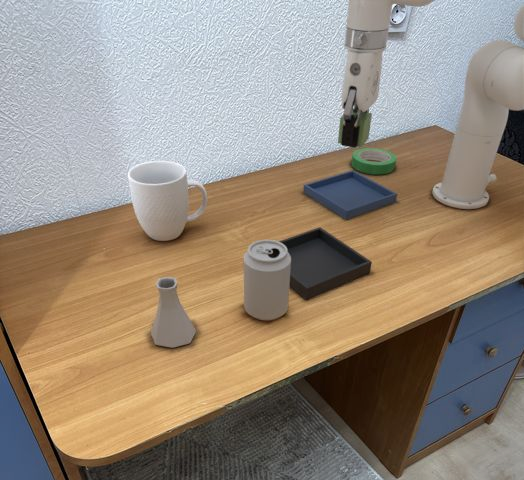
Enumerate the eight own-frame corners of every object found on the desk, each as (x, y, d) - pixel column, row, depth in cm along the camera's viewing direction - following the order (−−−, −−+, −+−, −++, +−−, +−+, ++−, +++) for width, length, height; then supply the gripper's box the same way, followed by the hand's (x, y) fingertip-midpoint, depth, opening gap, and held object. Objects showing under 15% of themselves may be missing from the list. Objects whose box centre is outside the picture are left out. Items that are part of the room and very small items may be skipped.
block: (345, 134, 106) (348, 109, 103) (368, 138, 105) (372, 113, 101) (337, 143, 103) (340, 117, 99) (361, 147, 101) (365, 121, 98)
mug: (202, 214, 111) (197, 154, 102) (216, 239, 103) (213, 177, 95) (133, 224, 107) (123, 164, 98) (143, 251, 100) (132, 188, 91)
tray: (351, 177, 126) (352, 169, 124) (395, 202, 117) (397, 193, 115) (303, 192, 119) (303, 184, 118) (345, 219, 110) (347, 211, 109)
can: (283, 326, 84) (287, 264, 75) (239, 320, 85) (238, 258, 76) (291, 299, 89) (295, 239, 81) (249, 293, 90) (249, 233, 82)
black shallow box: (318, 237, 104) (319, 226, 103) (369, 273, 95) (372, 261, 94) (257, 259, 98) (257, 248, 96) (305, 300, 89) (307, 288, 87)
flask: (152, 320, 84) (143, 269, 77) (196, 318, 85) (191, 268, 78) (149, 350, 79) (139, 298, 72) (196, 348, 79) (190, 296, 73)
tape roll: (367, 154, 137) (369, 144, 135) (402, 166, 131) (404, 156, 130) (342, 165, 131) (343, 155, 129) (378, 179, 125) (380, 168, 124)
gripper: (373, 51, 85) (358, 159, 97) (398, 31, 96) (382, 130, 108) (330, 47, 87) (321, 153, 99) (359, 27, 98) (348, 124, 111)
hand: (353, 140), depth 104 cm, fingers closed on block, 5 cm apart
